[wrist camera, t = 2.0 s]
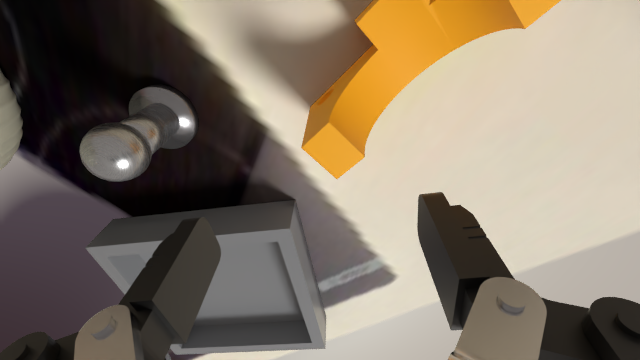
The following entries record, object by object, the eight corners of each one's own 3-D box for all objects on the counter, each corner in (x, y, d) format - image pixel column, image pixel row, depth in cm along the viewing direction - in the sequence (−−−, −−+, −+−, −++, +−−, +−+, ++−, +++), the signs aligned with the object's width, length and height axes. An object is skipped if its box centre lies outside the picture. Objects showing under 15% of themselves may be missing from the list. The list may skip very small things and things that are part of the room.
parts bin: (295, 199, 24) (289, 228, 21) (326, 316, 33) (325, 348, 30) (113, 219, 26) (85, 247, 23) (189, 324, 35) (175, 354, 32)
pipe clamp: (451, -85, 14) (523, -134, 9) (495, -12, 16) (579, -15, 10) (291, 87, 19) (274, 124, 14) (336, 130, 21) (336, 179, 15)
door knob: (183, 79, 19) (112, 119, 13) (208, 139, 21) (157, 197, 15) (123, 89, 20) (29, 132, 14) (153, 147, 22) (85, 206, 16)
